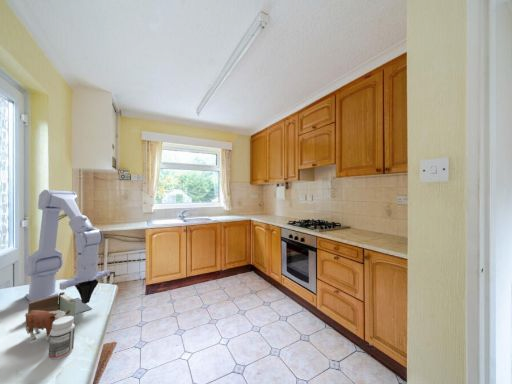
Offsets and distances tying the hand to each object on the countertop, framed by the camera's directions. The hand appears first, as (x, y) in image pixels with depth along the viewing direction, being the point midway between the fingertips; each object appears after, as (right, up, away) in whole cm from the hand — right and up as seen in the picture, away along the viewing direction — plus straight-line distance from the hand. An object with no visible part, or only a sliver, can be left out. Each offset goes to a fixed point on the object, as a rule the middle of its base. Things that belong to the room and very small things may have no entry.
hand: (85, 302), depth 72 cm
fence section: (-11, -2, -3) cm, 11 cm away
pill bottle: (+11, -2, -20) cm, 23 cm away
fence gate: (-4, -2, -3) cm, 5 cm away
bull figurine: (+1, -3, -14) cm, 15 cm away
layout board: (-8, -3, -1) cm, 9 cm away
